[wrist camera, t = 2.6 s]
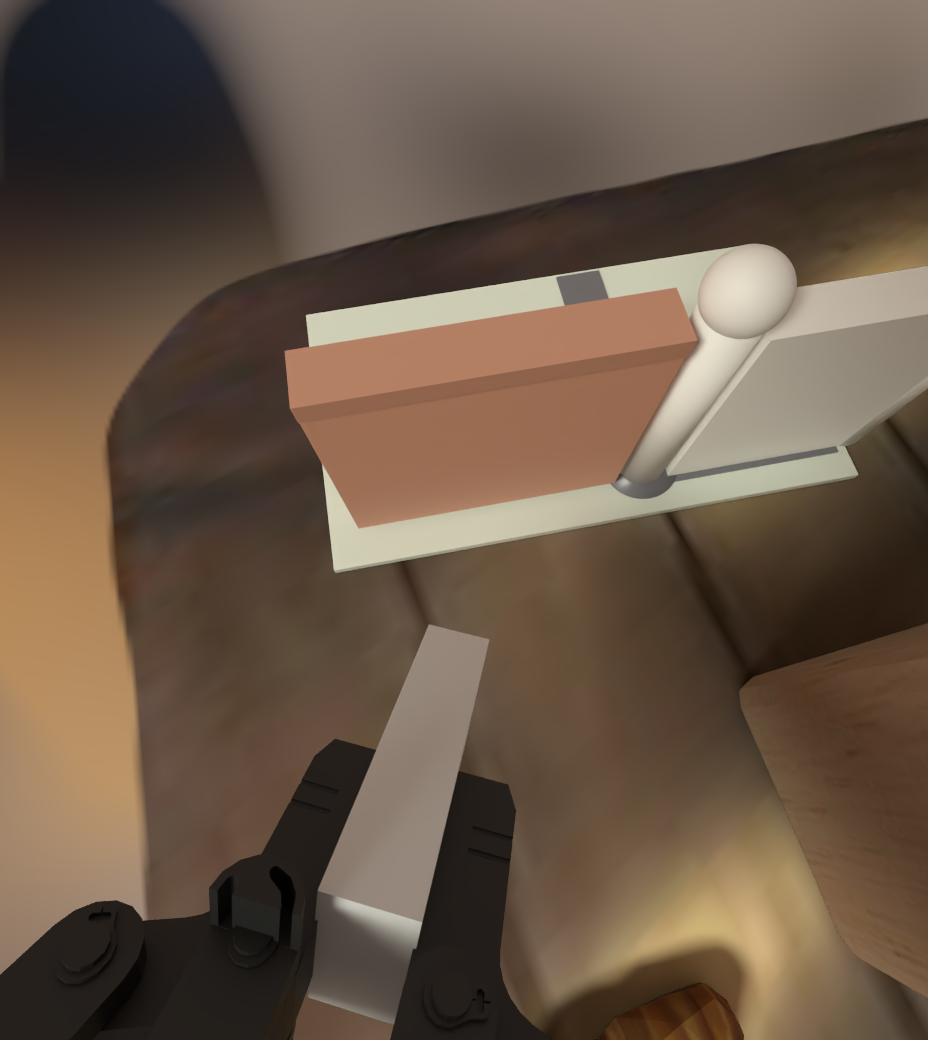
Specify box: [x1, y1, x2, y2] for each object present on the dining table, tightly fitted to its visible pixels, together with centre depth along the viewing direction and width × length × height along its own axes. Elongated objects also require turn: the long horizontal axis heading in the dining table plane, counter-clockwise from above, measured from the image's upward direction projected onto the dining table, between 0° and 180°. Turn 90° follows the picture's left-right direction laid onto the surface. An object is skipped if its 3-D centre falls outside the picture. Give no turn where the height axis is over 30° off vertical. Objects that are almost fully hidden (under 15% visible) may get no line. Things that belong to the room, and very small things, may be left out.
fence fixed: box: [620, 244, 928, 484], centre depth 22 cm, size 12×3×13 cm, turn 101°
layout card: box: [306, 246, 858, 573], centre depth 29 cm, size 25×14×1 cm, turn 101°
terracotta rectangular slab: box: [285, 287, 698, 528], centre depth 22 cm, size 12×2×10 cm, turn 101°
